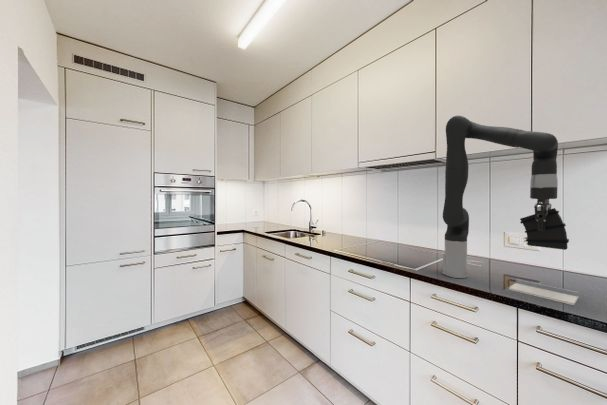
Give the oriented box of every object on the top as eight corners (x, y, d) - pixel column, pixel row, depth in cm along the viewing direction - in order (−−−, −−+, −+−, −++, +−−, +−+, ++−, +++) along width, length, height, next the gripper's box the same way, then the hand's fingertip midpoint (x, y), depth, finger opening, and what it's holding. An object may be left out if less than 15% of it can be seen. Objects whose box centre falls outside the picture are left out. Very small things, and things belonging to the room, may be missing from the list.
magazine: (579, 247, 87) (554, 208, 91) (533, 256, 96) (513, 220, 101) (580, 245, 89) (556, 207, 94) (536, 254, 99) (515, 220, 103)
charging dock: (508, 289, 100) (508, 284, 100) (516, 284, 106) (516, 278, 106) (573, 305, 86) (573, 298, 86) (578, 298, 92) (578, 292, 92)
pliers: (481, 264, 132) (450, 259, 143) (481, 267, 132) (450, 262, 143) (484, 260, 139) (454, 256, 150) (484, 263, 139) (454, 258, 150)
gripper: (535, 187, 102) (534, 228, 103) (525, 186, 94) (524, 231, 94) (561, 186, 96) (560, 230, 97) (553, 186, 88) (552, 233, 88)
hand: (542, 230), depth 95 cm, fingers closed on magazine, 3 cm apart
